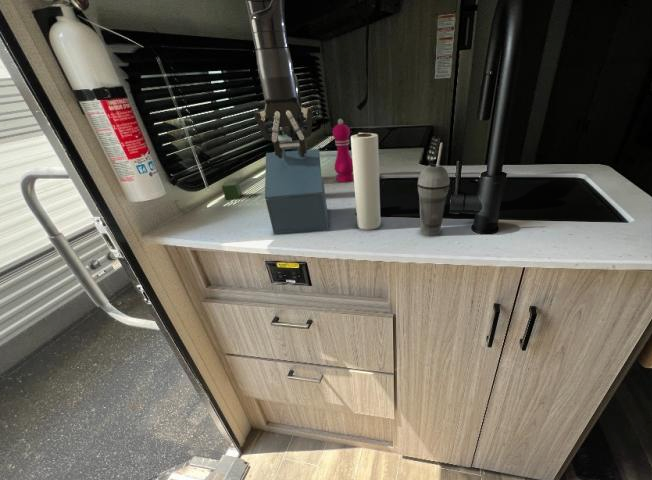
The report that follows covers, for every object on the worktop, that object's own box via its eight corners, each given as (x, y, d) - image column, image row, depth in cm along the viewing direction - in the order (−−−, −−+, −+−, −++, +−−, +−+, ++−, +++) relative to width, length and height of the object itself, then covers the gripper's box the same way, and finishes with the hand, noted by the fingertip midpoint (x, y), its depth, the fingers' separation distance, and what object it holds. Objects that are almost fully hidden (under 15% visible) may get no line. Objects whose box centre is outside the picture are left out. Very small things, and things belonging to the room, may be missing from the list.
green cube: (229, 195, 111) (224, 182, 108) (242, 194, 111) (238, 181, 108) (225, 199, 107) (221, 186, 104) (239, 198, 107) (235, 184, 105)
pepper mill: (338, 177, 122) (332, 117, 110) (356, 177, 121) (352, 117, 109) (334, 183, 116) (327, 120, 104) (353, 182, 115) (348, 119, 103)
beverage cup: (423, 224, 82) (428, 138, 70) (450, 229, 78) (459, 140, 66) (409, 234, 77) (412, 144, 65) (437, 241, 74) (445, 146, 62)
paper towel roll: (376, 231, 80) (372, 137, 67) (353, 229, 82) (346, 136, 69) (384, 220, 85) (383, 131, 72) (363, 218, 87) (358, 131, 74)
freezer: (280, 213, 94) (273, 182, 88) (327, 209, 94) (323, 178, 89) (273, 234, 82) (265, 200, 76) (327, 229, 82) (322, 195, 77)
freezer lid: (266, 155, 83) (261, 138, 79) (319, 151, 84) (316, 134, 80) (265, 199, 76) (259, 183, 72) (322, 194, 77) (320, 178, 73)
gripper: (310, 72, 74) (320, 151, 84) (247, 76, 73) (265, 155, 83) (308, 73, 68) (320, 158, 78) (240, 77, 67) (261, 162, 77)
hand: (291, 156), depth 81 cm, fingers closed on freezer lid, 5 cm apart
